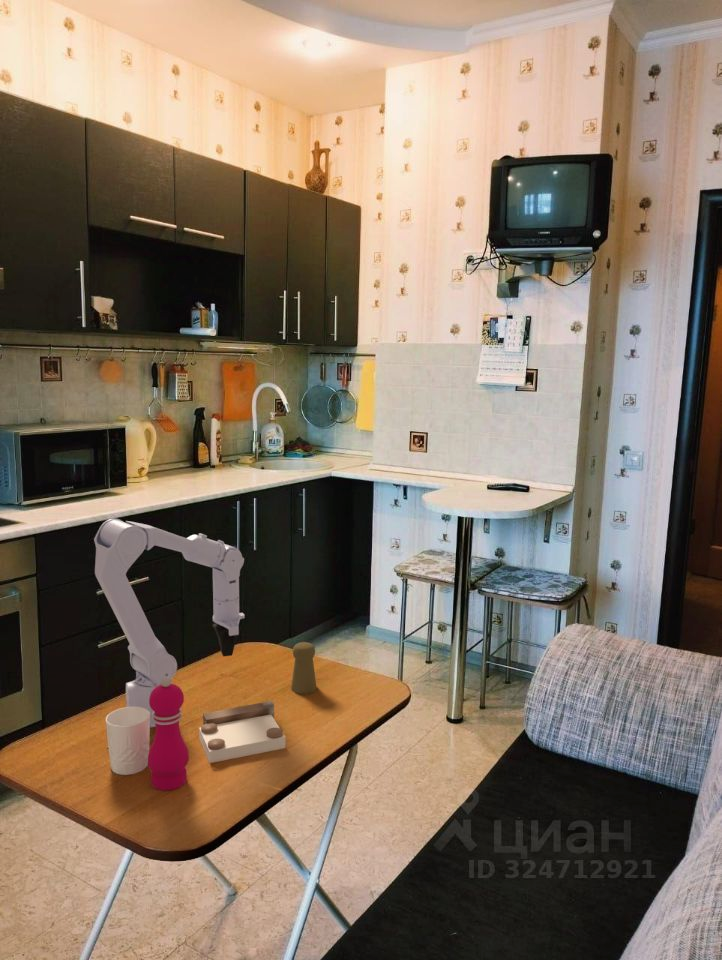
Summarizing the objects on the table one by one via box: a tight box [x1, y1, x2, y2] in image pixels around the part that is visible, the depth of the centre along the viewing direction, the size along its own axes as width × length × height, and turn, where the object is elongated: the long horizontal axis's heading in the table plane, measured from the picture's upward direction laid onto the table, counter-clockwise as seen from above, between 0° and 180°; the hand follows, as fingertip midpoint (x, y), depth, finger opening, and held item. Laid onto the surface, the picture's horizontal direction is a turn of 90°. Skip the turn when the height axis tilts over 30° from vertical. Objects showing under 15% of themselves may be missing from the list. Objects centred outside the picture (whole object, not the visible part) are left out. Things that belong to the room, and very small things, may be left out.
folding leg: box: [202, 700, 275, 725], centre depth 155 cm, size 15×3×4 cm, turn 114°
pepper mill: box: [147, 677, 190, 791], centre depth 134 cm, size 7×7×20 cm
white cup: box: [105, 706, 151, 776], centre depth 139 cm, size 8×8×10 cm
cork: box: [290, 641, 318, 695], centre depth 173 cm, size 6×6×11 cm
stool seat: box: [198, 715, 287, 764], centre depth 148 cm, size 15×10×3 cm, turn 113°
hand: (227, 654), depth 169 cm, fingers closed
